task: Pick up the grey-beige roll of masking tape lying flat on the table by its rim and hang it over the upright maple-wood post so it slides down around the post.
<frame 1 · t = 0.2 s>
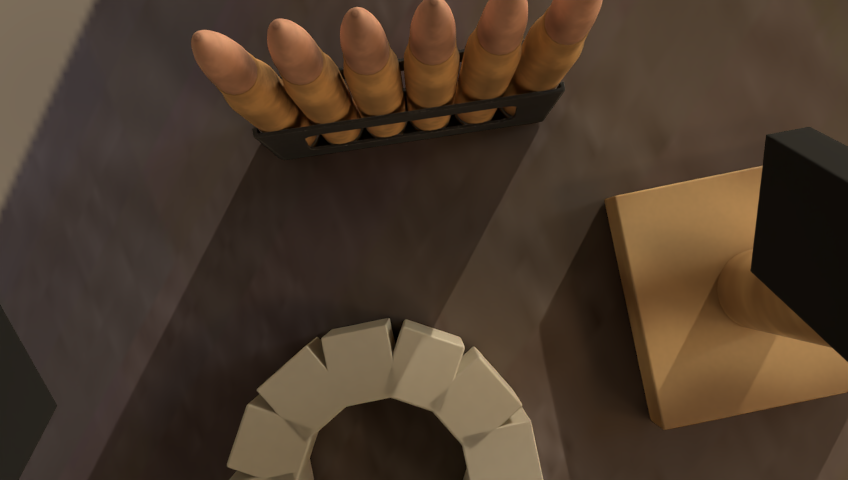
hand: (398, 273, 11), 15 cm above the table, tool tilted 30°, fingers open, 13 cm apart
ammunition clip: (409, 119, 27), on the table
post stand: (737, 286, 26), on the table
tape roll: (388, 462, 26), on the table
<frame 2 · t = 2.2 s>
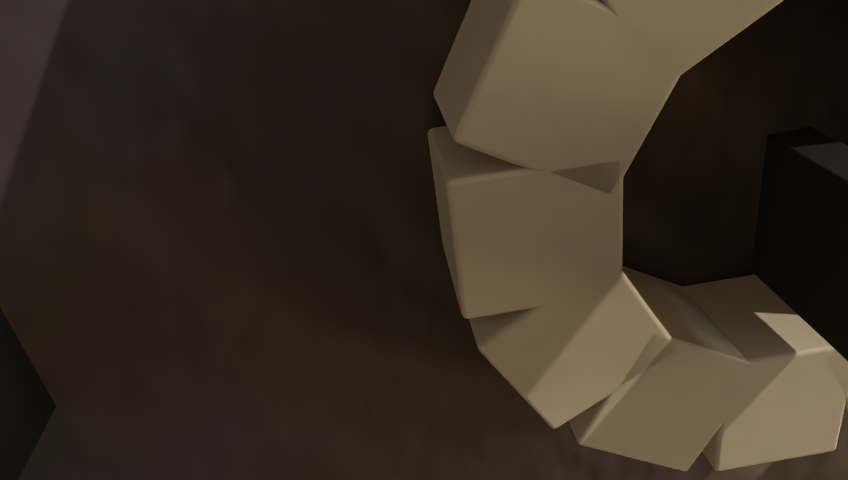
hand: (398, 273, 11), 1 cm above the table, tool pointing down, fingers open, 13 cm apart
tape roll: (730, 141, 12), on the table
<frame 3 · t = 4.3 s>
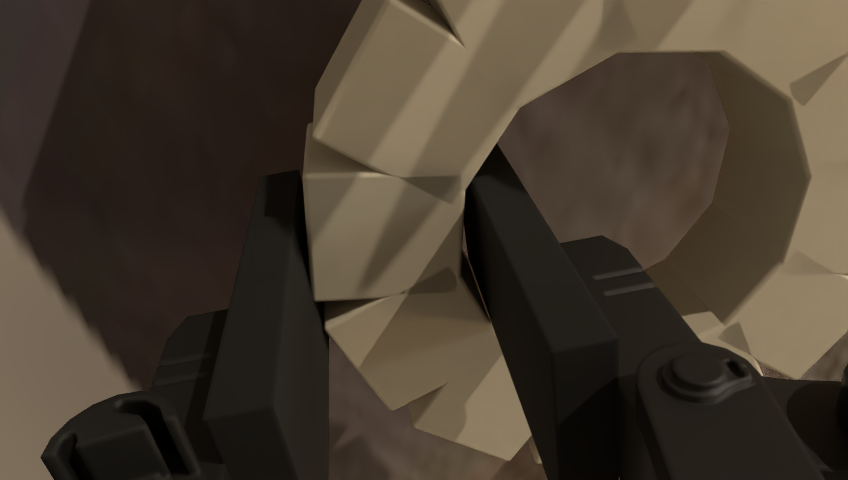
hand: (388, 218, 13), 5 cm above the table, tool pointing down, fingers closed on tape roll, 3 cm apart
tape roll: (584, 171, 14), point 5 cm above the table, touching gripper
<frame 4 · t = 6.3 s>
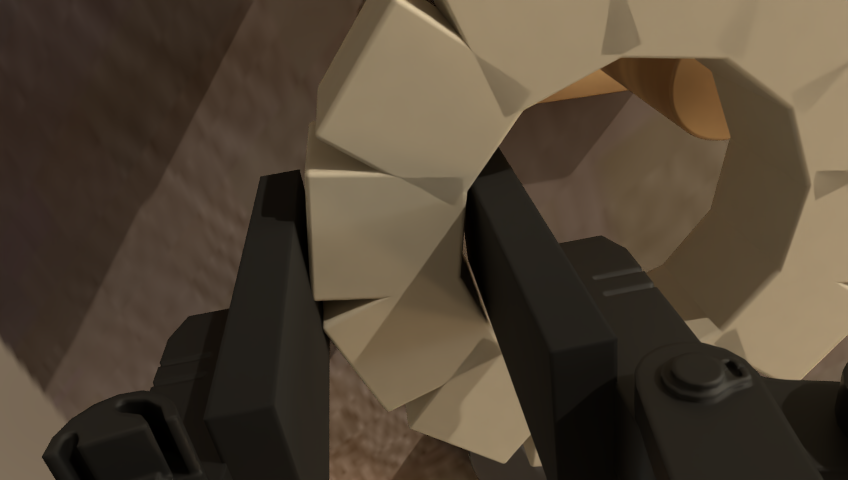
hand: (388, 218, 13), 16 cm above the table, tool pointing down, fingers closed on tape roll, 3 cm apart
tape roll: (584, 175, 14), point 16 cm above the table, touching gripper
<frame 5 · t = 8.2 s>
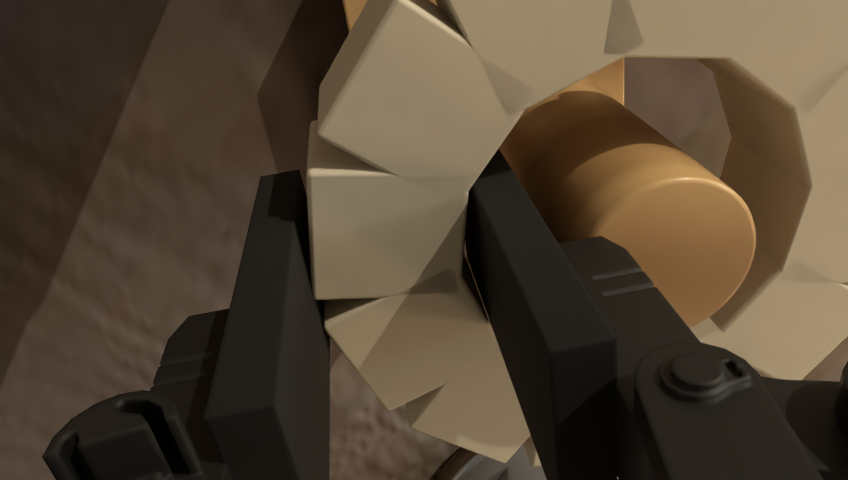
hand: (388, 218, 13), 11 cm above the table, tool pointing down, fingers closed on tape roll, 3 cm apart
post stand: (484, 55, 23), on the table
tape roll: (585, 174, 14), point 11 cm above the table, touching gripper
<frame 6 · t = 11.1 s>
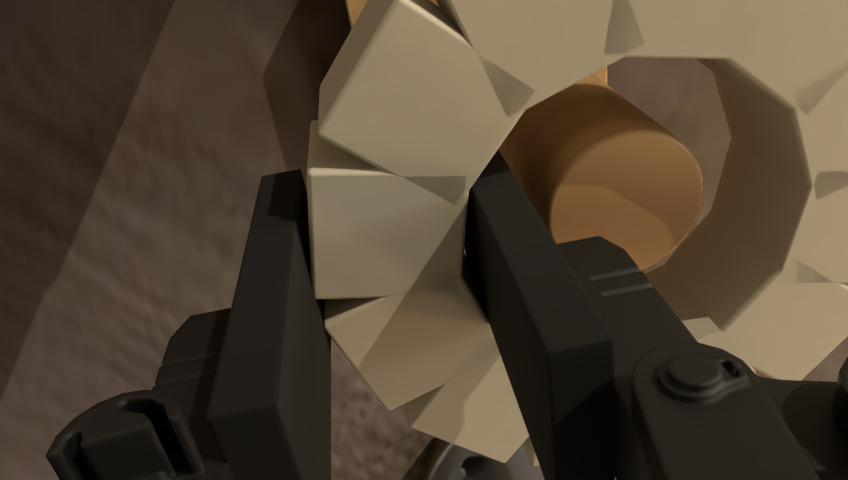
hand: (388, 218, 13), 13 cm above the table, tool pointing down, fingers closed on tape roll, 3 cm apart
post stand: (476, 39, 25), on the table
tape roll: (585, 174, 14), point 13 cm above the table, touching gripper
when the fingers open (14 cm above the table, at t = 13.6 s): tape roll drops 12 cm, resting on post stand.
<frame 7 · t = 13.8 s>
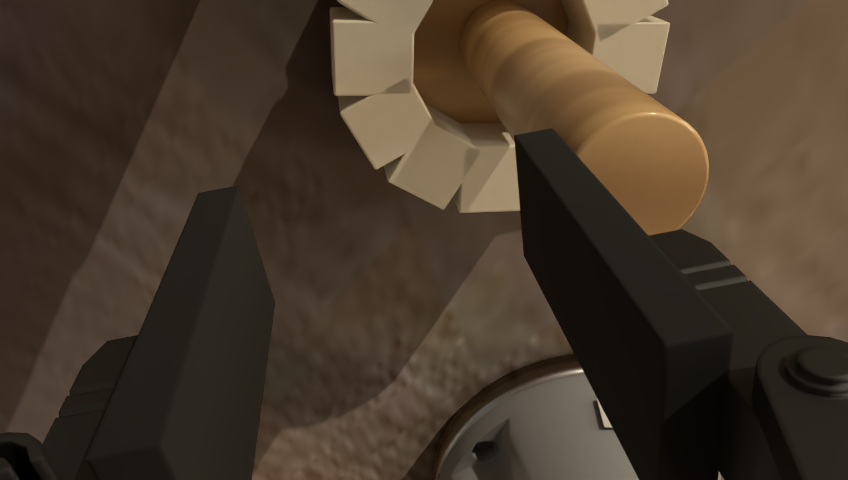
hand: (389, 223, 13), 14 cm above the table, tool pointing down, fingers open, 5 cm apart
post stand: (491, 33, 26), on the table
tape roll: (486, 42, 24), point 2 cm above the table, touching post stand
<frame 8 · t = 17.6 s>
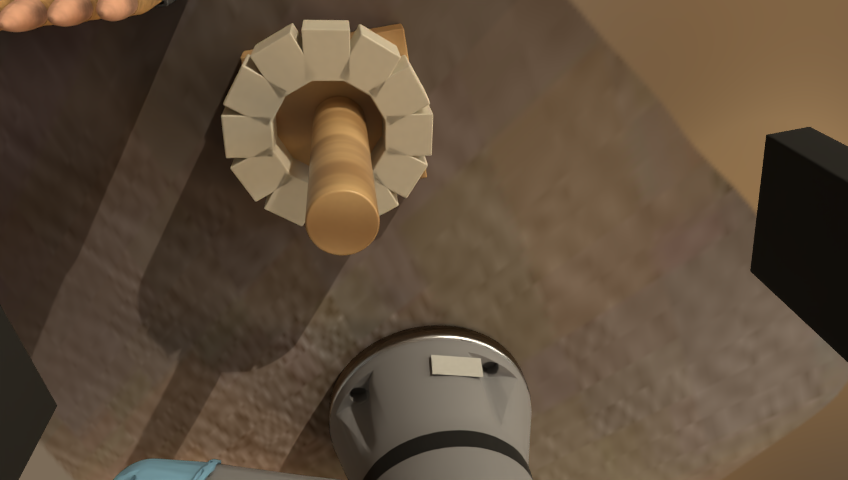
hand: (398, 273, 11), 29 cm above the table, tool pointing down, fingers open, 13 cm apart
post stand: (339, 113, 39), on the table
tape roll: (329, 121, 38), point 1 cm above the table, touching post stand
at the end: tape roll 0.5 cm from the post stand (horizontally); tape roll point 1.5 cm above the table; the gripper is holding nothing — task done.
